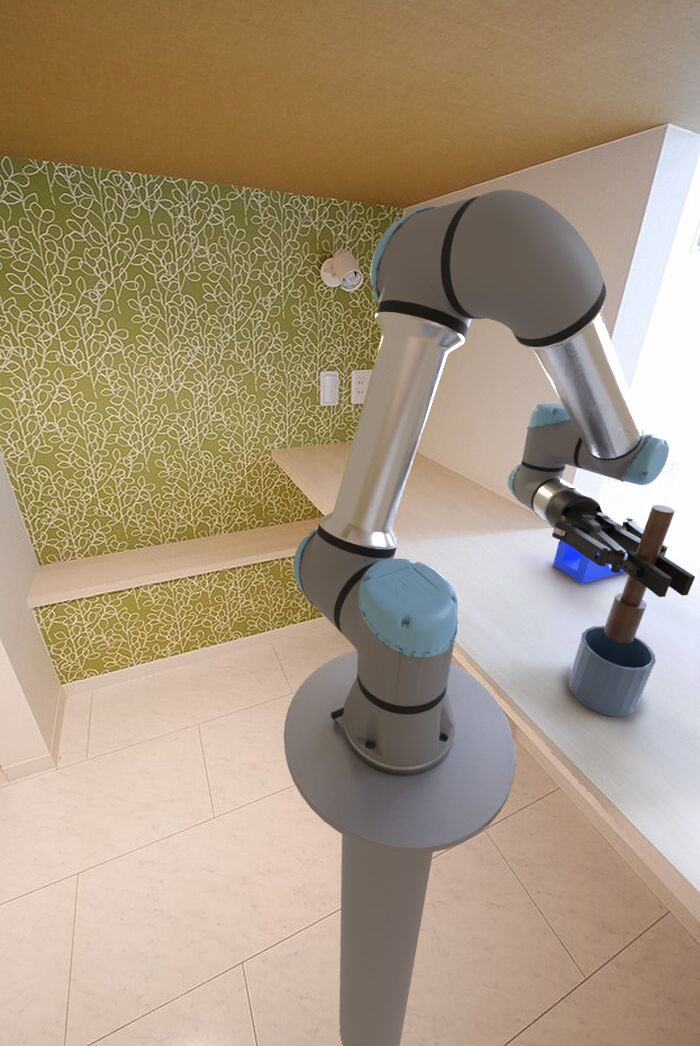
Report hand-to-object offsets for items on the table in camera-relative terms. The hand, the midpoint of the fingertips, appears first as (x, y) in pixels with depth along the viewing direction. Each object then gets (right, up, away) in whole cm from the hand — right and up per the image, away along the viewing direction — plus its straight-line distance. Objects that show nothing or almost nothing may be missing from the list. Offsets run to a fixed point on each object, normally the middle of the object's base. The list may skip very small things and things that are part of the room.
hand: (676, 586), depth 53 cm
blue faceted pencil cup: (-1, -18, +14) cm, 23 cm away
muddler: (-1, -8, +10) cm, 13 cm away
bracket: (+18, -3, +48) cm, 51 cm away
